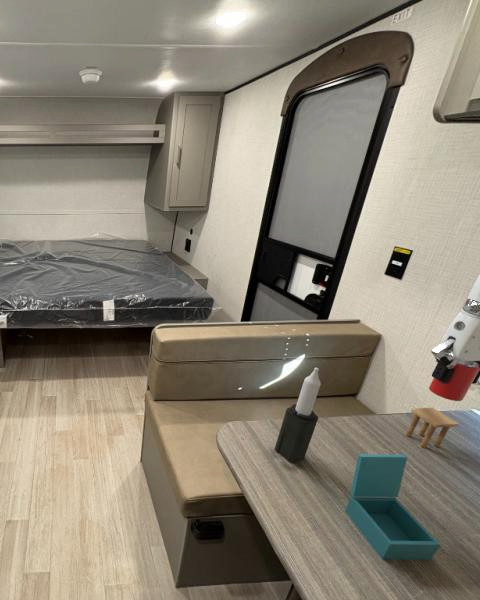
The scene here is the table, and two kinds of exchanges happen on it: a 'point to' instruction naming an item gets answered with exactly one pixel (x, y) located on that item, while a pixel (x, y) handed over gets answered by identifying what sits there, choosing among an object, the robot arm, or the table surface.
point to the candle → (299, 422)
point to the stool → (435, 420)
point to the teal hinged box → (391, 528)
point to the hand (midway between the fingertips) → (453, 379)
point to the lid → (378, 475)
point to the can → (456, 381)
